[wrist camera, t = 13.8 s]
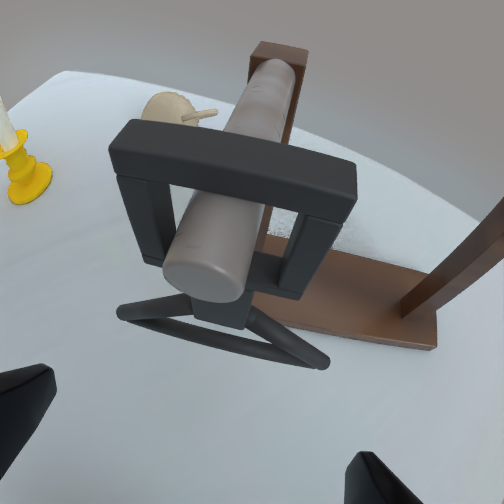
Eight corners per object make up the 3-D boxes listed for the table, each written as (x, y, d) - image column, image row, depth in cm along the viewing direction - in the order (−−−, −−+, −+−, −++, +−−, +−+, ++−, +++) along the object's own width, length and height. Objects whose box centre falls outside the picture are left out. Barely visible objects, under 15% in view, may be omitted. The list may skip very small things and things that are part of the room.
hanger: (116, 320, 12) (-6, 138, 4) (122, 305, 13) (18, 113, 4) (325, 373, 12) (507, 252, 4) (328, 356, 13) (495, 215, 4)
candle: (28, 163, 25) (-18, 37, 12) (61, 167, 25) (16, 23, 11) (1, 201, 22) (-63, 71, 9) (33, 208, 22) (-36, 58, 9)
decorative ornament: (165, 120, 29) (161, 77, 25) (223, 153, 27) (225, 104, 22) (134, 138, 27) (126, 93, 23) (190, 176, 25) (187, 124, 21)
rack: (426, 417, 16) (623, 347, 3) (174, 379, 17) (44, 224, 4) (427, 280, 22) (548, 146, 9) (220, 230, 22) (231, 18, 10)
